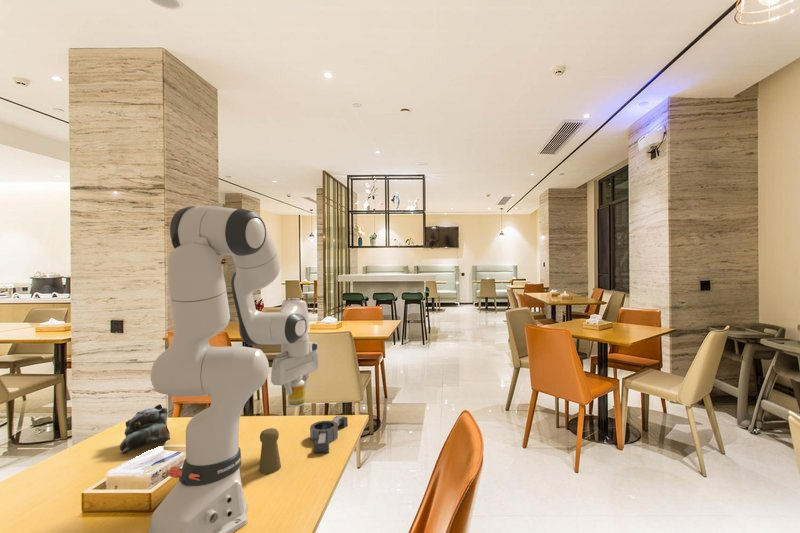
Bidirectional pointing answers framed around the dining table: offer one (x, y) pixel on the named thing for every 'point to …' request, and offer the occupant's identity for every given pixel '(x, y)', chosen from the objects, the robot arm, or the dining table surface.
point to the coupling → (326, 433)
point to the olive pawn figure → (269, 451)
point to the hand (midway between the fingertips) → (296, 391)
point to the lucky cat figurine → (146, 429)
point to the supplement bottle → (297, 393)
